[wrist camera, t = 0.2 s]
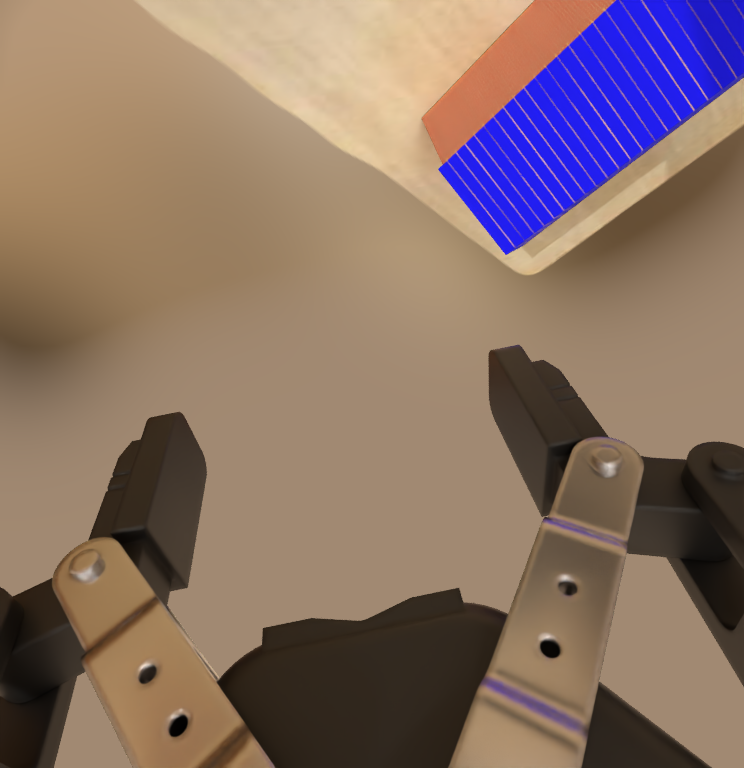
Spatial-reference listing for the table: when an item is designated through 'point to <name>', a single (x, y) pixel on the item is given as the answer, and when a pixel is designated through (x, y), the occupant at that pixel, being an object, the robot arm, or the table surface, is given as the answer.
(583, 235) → the table surface
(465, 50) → the table surface
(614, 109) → the house
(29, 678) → the robot arm
